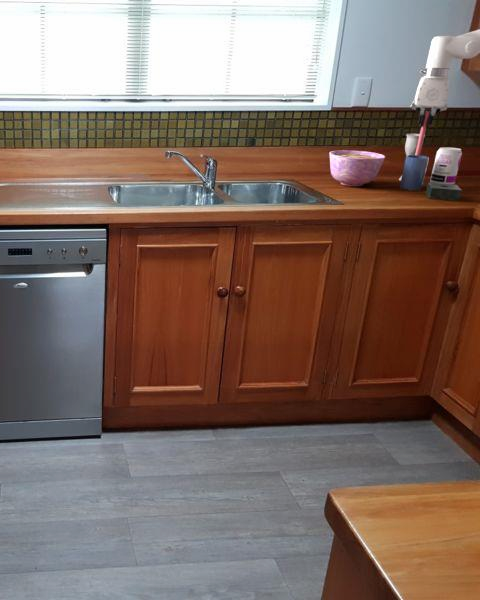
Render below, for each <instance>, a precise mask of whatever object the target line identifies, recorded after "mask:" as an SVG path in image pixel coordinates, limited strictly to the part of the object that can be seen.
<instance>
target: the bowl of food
mask: <svg viewBox="0 0 480 600" xmlns="http://www.w3.org/2000/svg"><path fill="white" fill-rule="evenodd" d="M385 159H386V156H385V155H384V154H381V153H377V152H371V151H364V150H351V149H350V150H349V149H347V150H346V149H342V150H332V151H330V152H329V167H330V168H329V169H330V174H331V176H332V178H333V179H334V180H336V181H337V182H339V183H340V185H343V186H348V187H363V186H364V185H366V184H369V183H371V182H373V181H374V180H375V179H376V177H377V175H378V174H379V172H380V169H381V167H382V165H383V163H384V161H385Z"/></svg>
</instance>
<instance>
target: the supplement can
mask: <svg viewBox="0 0 480 600" xmlns="http://www.w3.org/2000/svg"><path fill="white" fill-rule="evenodd" d="M462 156H463V152H462V149H461V148H457V147H446V146H445V147H443V146H442V147H439V149H438V150H437V151H436V154H435V157H434V163H433V167H432V171H431V176H430V179H429V183H438V184H451V185H456V184H455V183H456V179H457V175H458V172H459V168H460V163H461V160H462Z"/></svg>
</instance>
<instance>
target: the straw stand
mask: <svg viewBox="0 0 480 600" xmlns="http://www.w3.org/2000/svg"><path fill="white" fill-rule="evenodd" d="M462 191H463V189H461V188H460V187H459V185H458V184H454V185H451V184H438V183H430V182H427V185H426V189H425V194H426V196H427V198H428V199H429V200H438V201H450V202H460V200H461V199H460V198H461V195H462Z"/></svg>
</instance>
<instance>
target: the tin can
mask: <svg viewBox="0 0 480 600" xmlns="http://www.w3.org/2000/svg"><path fill="white" fill-rule="evenodd" d="M429 160H430V157H429V156H426V155H420V156H416V155H406V156H405V159H404V163H403V164H404V165H403V169H402V174H401V176H402V177H401V176H400V177H401V180H400V183H399V188H400V189H401V188H403V189H402V190H405V189H408V190H407V191H412V190H419V191H422V190H421V189H423V186H424V181H425V177H426V172H427V169H428V166H429V165H428V164H429Z"/></svg>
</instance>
